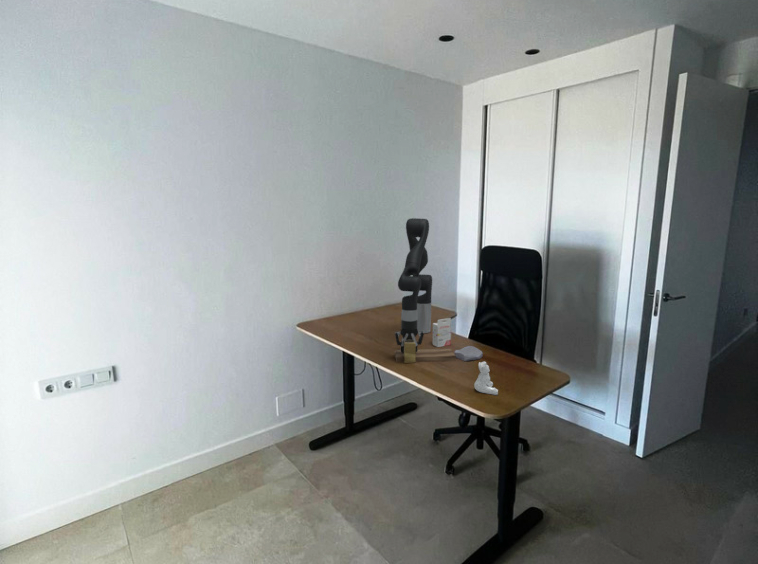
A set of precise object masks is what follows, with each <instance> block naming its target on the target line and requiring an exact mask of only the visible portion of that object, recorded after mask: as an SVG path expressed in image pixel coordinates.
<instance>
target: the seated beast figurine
mask: <svg viewBox="0 0 758 564" xmlns="http://www.w3.org/2000/svg"><path fill="white" fill-rule="evenodd" d="M478 371H479V373H478V376H477V379H476V380H475V382H474V383H473V385H474V386H473V387H474V389H475V390H476V391H477V392H479V393H482V394H488V395H493V396H498V395H499V389H497V388H496V387H493V386H494V383H493V381H491V376H490V371H491V370H490V366H489V365H488V363H487V362H486V361H485V360H484V361H482V362H480V361H479V362H478Z"/></svg>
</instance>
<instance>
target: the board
mask: <svg viewBox="0 0 758 564" xmlns="http://www.w3.org/2000/svg"><path fill="white" fill-rule="evenodd" d="M454 353H455V351H453V349H452V348H433V349H431V348H430V349H429V348H427V349H417V352H416V354H415V363H419V362H420V363H423V362H424V363H425V362H427V363H428V362H430V363H431V362H456V361H457V358H456V355H455V354H454ZM394 357H395V361H396V363H405V362H404V355H403V354H402V353H401V349H395V350H394Z"/></svg>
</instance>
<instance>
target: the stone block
mask: <svg viewBox="0 0 758 564" xmlns="http://www.w3.org/2000/svg"><path fill="white" fill-rule="evenodd" d="M454 354H455V355H456V359H458V360H461V361H463V362H469V361H475V360H480V359H482V358H483V356H484V355H483V354H484V353H483V351H482V350H480V349H479V348H477V347H475V346H472V345H467V346H465V347H462V348H461V349H456V350H454Z"/></svg>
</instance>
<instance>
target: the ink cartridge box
mask: <svg viewBox="0 0 758 564" xmlns="http://www.w3.org/2000/svg"><path fill="white" fill-rule="evenodd" d="M451 343H452V318H451V317H448V318H441V319H437V322H433V323H432V345H433V346H434V347H437V348H441V347H446V346H450V345H452V344H451Z"/></svg>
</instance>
